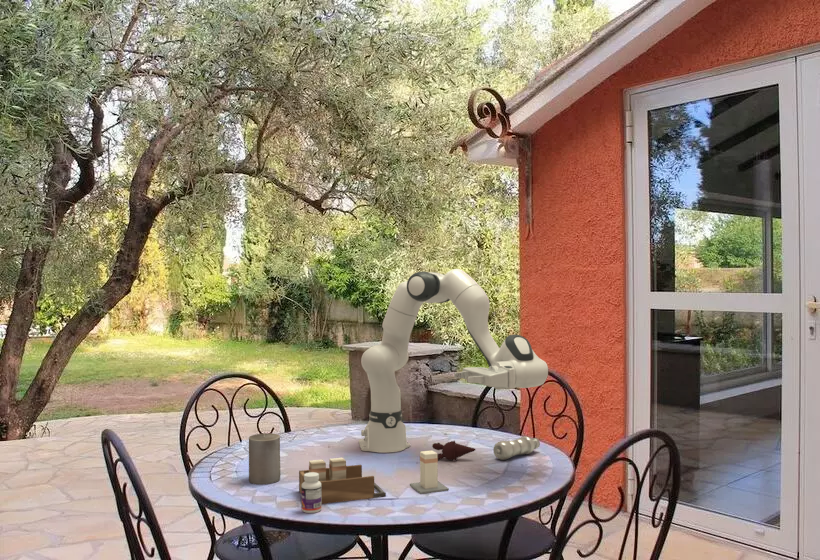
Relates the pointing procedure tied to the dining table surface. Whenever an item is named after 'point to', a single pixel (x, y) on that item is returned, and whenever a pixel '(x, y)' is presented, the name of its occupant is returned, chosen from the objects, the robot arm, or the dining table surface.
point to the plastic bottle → (515, 447)
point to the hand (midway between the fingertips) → (461, 377)
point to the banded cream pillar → (428, 469)
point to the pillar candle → (264, 458)
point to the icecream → (452, 450)
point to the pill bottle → (311, 493)
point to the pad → (428, 490)
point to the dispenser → (342, 481)
